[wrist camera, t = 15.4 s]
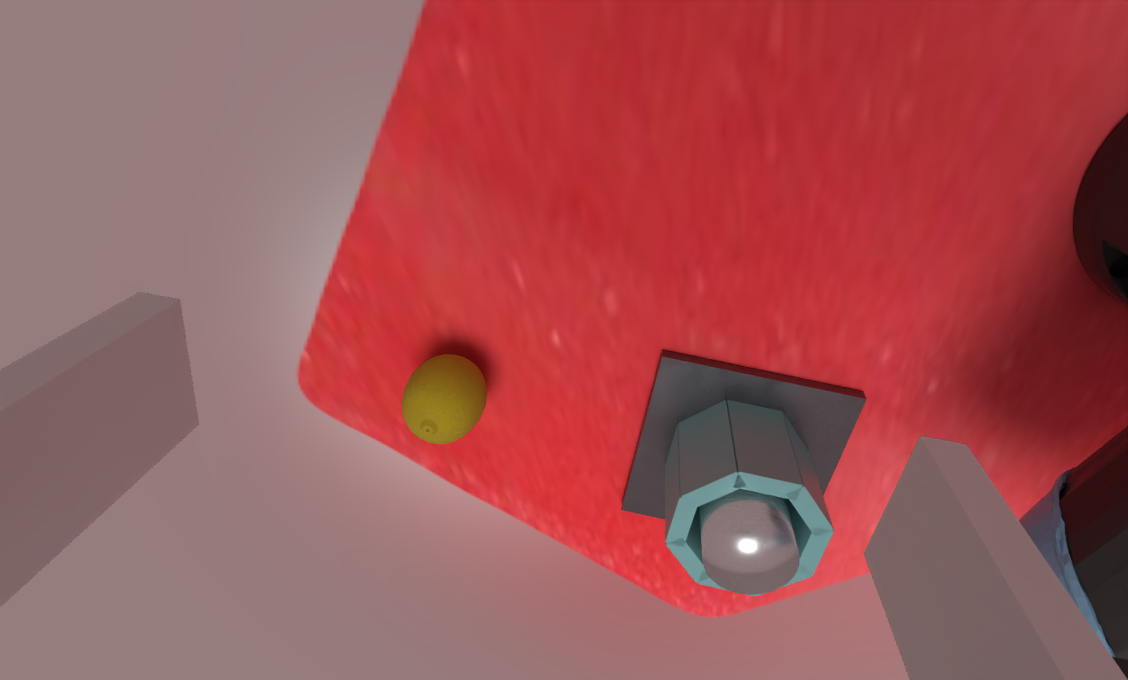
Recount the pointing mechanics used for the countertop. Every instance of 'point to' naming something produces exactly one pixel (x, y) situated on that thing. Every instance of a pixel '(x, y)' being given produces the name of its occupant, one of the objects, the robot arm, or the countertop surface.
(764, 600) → the countertop surface
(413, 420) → the lemon
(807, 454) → the collar
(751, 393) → the domed lamp fixture
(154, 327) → the robot arm
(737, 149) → the countertop surface
